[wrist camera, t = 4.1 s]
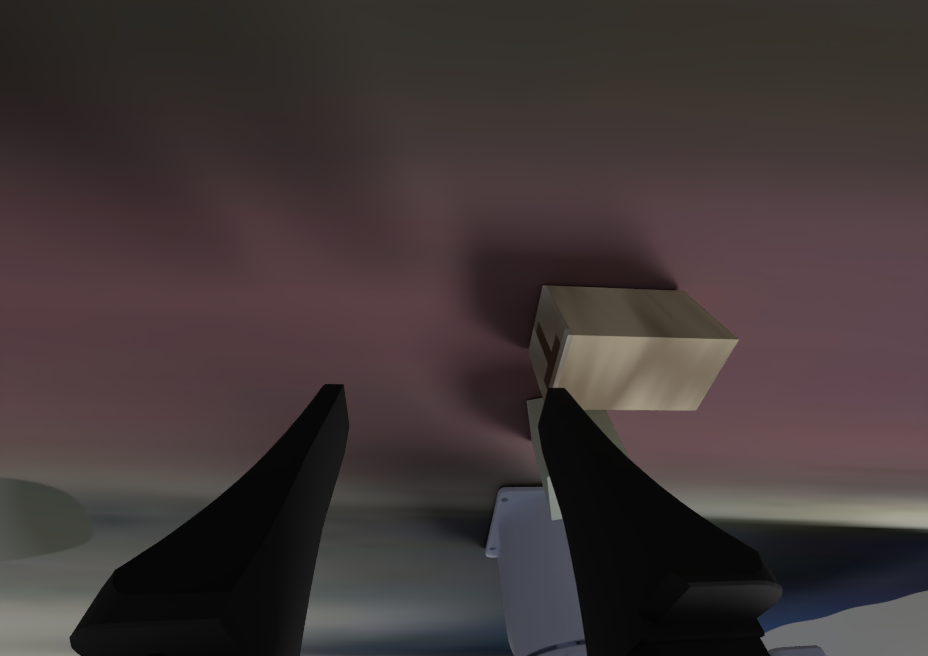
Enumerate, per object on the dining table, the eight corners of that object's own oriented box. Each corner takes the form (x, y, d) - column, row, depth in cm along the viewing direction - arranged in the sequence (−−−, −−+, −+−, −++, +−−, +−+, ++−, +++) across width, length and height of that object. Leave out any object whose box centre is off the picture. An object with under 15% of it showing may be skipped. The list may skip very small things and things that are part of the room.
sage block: (594, 433, 24) (627, 508, 20) (532, 443, 24) (551, 520, 20) (594, 388, 22) (632, 462, 17) (526, 400, 22) (547, 477, 18)
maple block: (528, 352, 20) (653, 355, 20) (546, 409, 16) (696, 410, 17) (542, 285, 17) (683, 290, 18) (567, 335, 14) (738, 339, 15)
